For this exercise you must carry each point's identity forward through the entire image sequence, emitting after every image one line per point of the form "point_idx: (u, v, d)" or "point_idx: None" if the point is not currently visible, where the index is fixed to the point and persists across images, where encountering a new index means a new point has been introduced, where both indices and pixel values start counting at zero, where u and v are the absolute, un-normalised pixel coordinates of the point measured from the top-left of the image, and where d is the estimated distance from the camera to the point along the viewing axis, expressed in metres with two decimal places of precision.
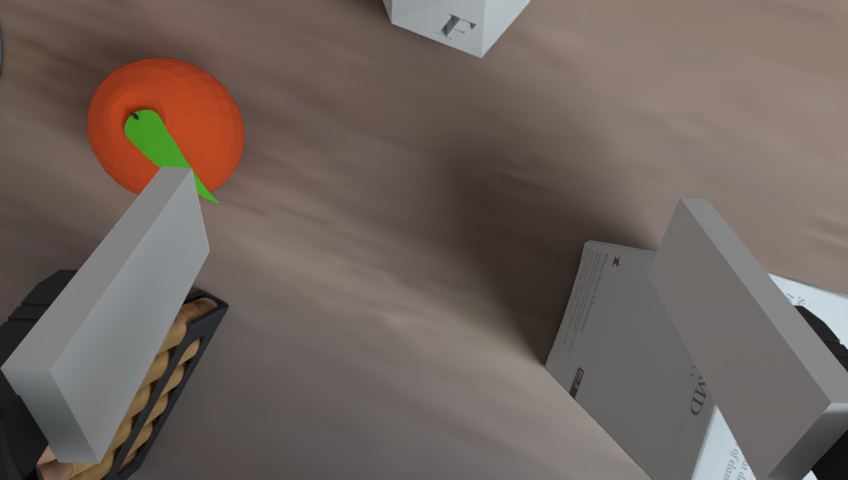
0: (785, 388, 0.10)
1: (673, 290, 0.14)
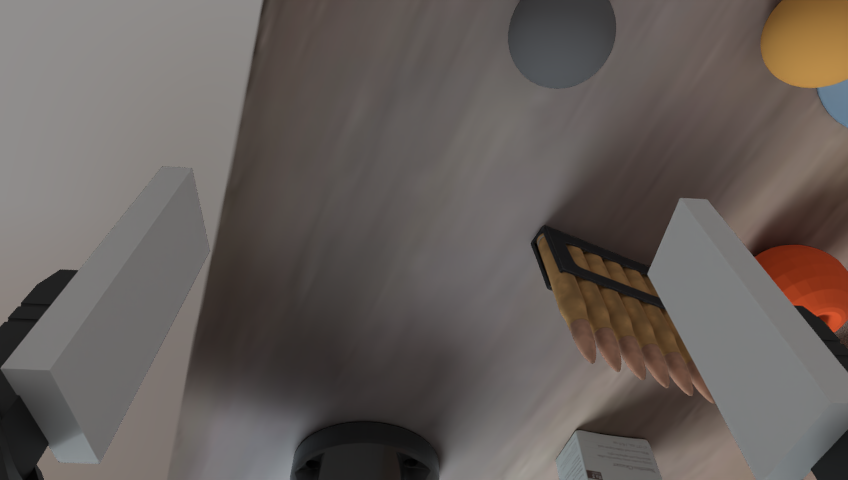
0: (785, 388, 0.10)
1: (673, 290, 0.14)
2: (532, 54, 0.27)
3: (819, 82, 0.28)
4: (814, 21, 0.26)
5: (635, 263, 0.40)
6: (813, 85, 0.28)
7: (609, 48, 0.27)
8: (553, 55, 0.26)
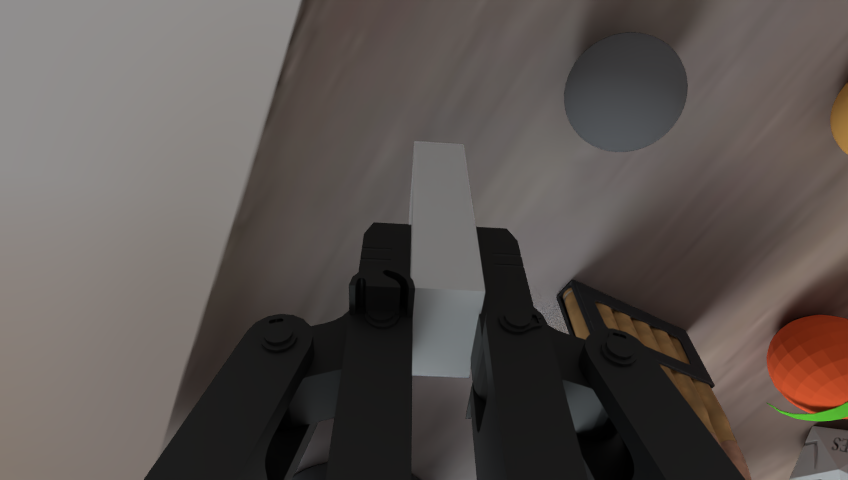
0: None
1: None
2: (595, 117, 0.24)
3: None
4: None
5: (663, 322, 0.38)
6: None
7: (678, 116, 0.24)
8: (619, 121, 0.23)
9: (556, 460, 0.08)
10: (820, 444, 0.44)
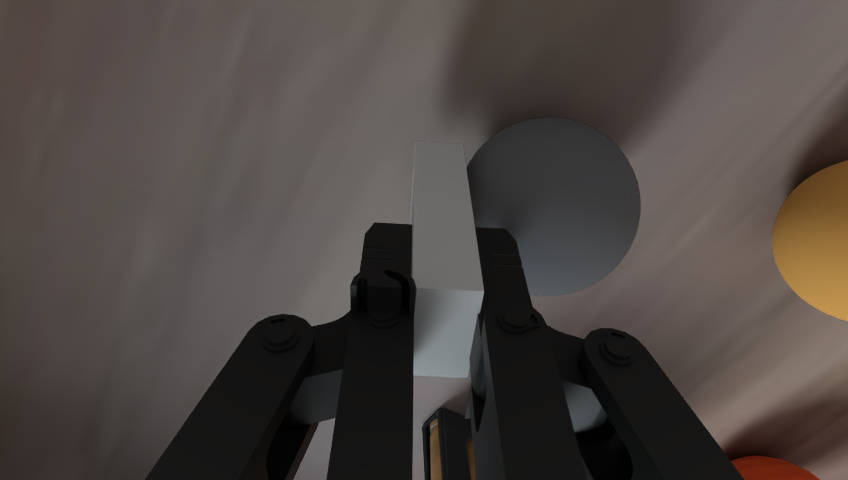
0: None
1: None
2: (559, 271, 0.14)
3: None
4: None
5: None
6: None
7: None
8: (597, 267, 0.15)
9: (555, 460, 0.08)
10: None
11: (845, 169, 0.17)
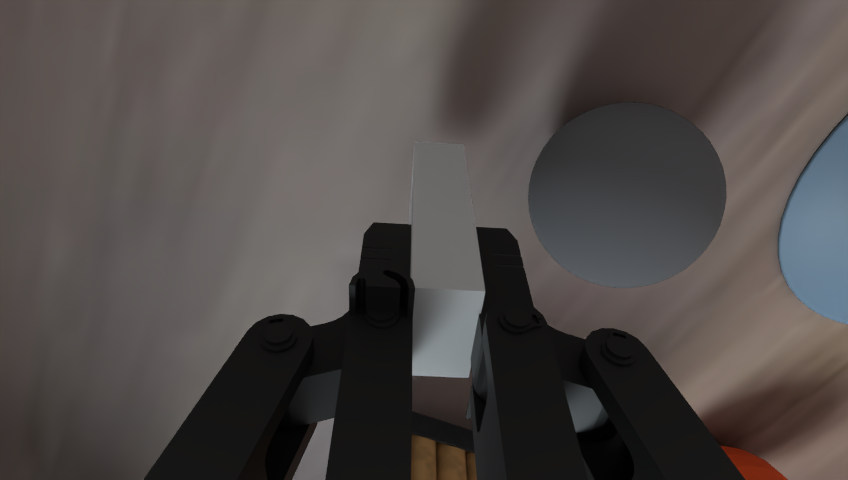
0: None
1: None
2: None
3: None
4: None
5: None
6: None
7: None
8: None
9: (556, 460, 0.08)
10: None
11: None
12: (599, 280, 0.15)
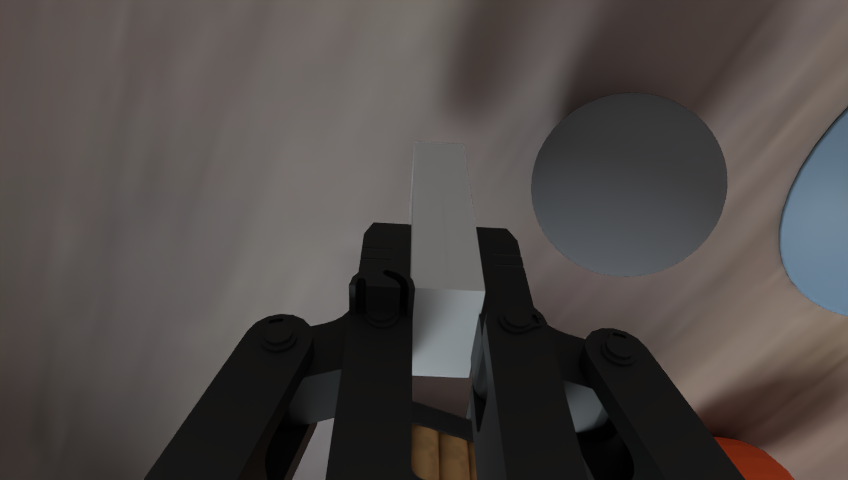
0: None
1: None
2: None
3: None
4: None
5: None
6: None
7: None
8: None
9: (556, 460, 0.08)
10: None
11: None
12: (601, 269, 0.15)
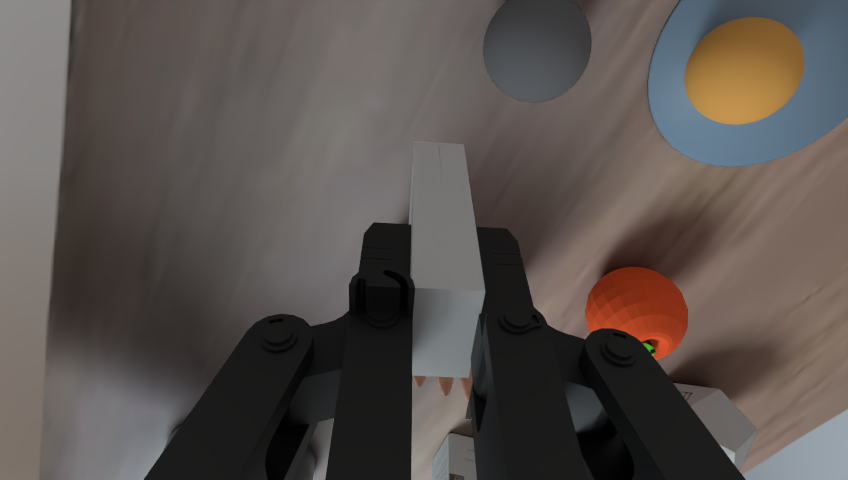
0: None
1: None
2: None
3: None
4: None
5: None
6: None
7: None
8: None
9: (556, 460, 0.08)
10: None
11: (782, 44, 0.26)
12: (521, 91, 0.27)
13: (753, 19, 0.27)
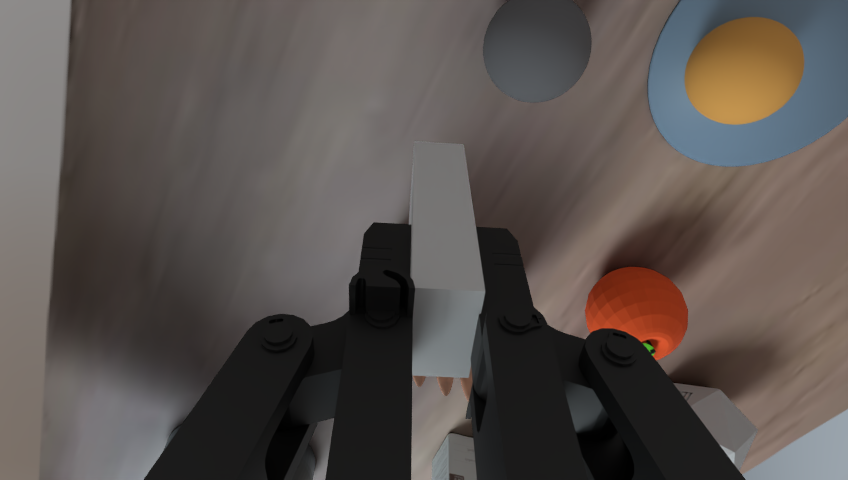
0: None
1: None
2: None
3: None
4: None
5: None
6: None
7: None
8: None
9: (556, 460, 0.08)
10: None
11: (782, 44, 0.26)
12: (521, 91, 0.27)
13: (753, 19, 0.27)
